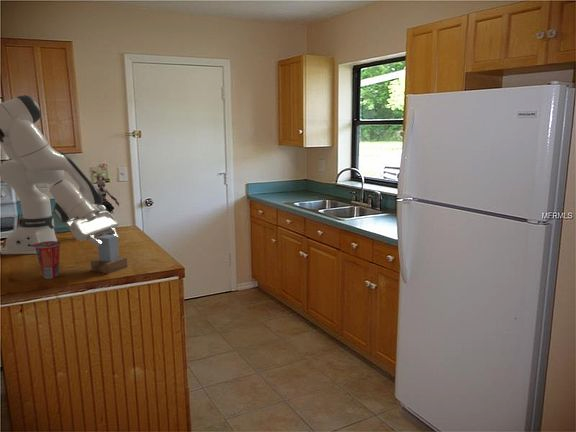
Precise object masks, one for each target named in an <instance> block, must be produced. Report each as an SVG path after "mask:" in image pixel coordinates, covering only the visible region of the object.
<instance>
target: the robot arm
mask: <svg viewBox="0 0 576 432" xmlns="http://www.w3.org/2000/svg"><path fill="white" fill-rule="evenodd" d="M40 109H41V108H40V106H39V104H38V103H37V102H36V101H35V100H34V98H32V97H31V96H29V95H19V96H17V97H16V98H11V99H9V100H6V101H3V102H1V103H0V147H2V150H3V151H4V153H5V155H6V156H7V157H8V158H10V159H9V160H4V161H3V162H2V163H1V164H0V178H1V180H2V181H3V182H4V183H5V184H7V185H8V186H10V188H12V189H13V191H14V192H15V193H16V195H17V197H18V199H19V201H20V207H21V212H22V216H21V217H20V218H19V219H18V221H17V225H18V227H16V229H14V230H13V231H12V232H11V233H10V234H9V235H8V236H7V237H6V241H5V246H3V247H2V248H0V254H1V255H31V254H33V255H35V254H36V255H37V253H36V249H35V247H31V246H30V245H33V244H37V243H41V242H47V241H58V238H57V236H56V232H55V219H54V215H53V214H52V213H54V214H55V215H56V217H57V219H59V220H60V221H61V222H62V223H64V224H66V226H67V227H68V228H69V231H70V232H71V234H72V235H73V236H74V238H75V239H76V240H77V241H78V242H83V241H86V240H88V242H89V243H92V244H94V245H95V246H96V247H97V248H98V247H99V246H101V245H102V242H101V241H100V240H97V238H96V237H99V235H101V234H102V235H105V234H107V233H109V235H117V239H118V240H119V238H120V236H119V235H118V233H117V230H116V228H118V226H119V221H118V220H117V219H116V218H115V216H114V214H113V213H112V212H111V213H110V212H108V211H105V210H106V207H105V206H104V205H102V203H103V195H102V194H101V192H100V191H99V190H98V189H99V188H98V187H96V186H95V185H94V184H93V183H92V182H91V181H90V179H89V178H88V177H87V175H85V173H84V172H83V171H82V170H81V169H80V167H78V165H77V164H76V163H75V162H74V161H73V160H72V159H71V157H69V156H68V154H66V153H64V152H61V151H59V152H58V151H57V150H55V149H54V148H53V147H52V146H51V145H50V143H49V142H48V140H47V139H46V137H45V135H44V134H43V133H42V132H41V131H40V129H39V128H38V126H36V125H35V123H37V122H38V121H39V120H40V119H41V116H42V112H41V110H40ZM65 172H66V174H68V176H69V177H71V179H72V180H73V181H74V183H75V184H77V186H78V187H79V188H78V187H77V186H75V185H74V183H72V182H70V181H69V180H68V179H63V178H64V177H65ZM52 184H53V185H52ZM37 185H40V186H43V185H52V186H51V187H50V188H49V193H50V194H51V196H52V198H53V199H54V201H55V203H54V208H53V212H52V205H51V200H50V197H49V196H48V195H47V194H45V193H43V192H42V191H40V190H39V189H38V188H37ZM102 235H101V236H102Z"/></svg>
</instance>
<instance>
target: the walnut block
mask: <svg viewBox="0 0 576 432" xmlns="http://www.w3.org/2000/svg"><path fill="white" fill-rule="evenodd" d="M90 267H91V268H90V269H91V271H92V272H97V273H103V274H109V275H110V274H112V273H115V272H117V271H120V270H123V269H126V268H128V258H127V257H126V256H125V257H123V256H119V258H118V259H116V260H114V261H112V262H105V261H99V258H96V259H92V260H91V261H90Z"/></svg>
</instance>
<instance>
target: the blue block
mask: <svg viewBox="0 0 576 432" xmlns="http://www.w3.org/2000/svg"><path fill="white" fill-rule="evenodd" d="M117 235H118V234H117ZM117 235H112V234H110V233H109V234H107V233H104V234H102V235H101V236H96V237H97V238H96V239H97V240H100V241H101V242H102V245H101V246H99V247H97V249H98V250H97V253H98V259H99V261H105V262H112V261H114V260H116V259H118V258H119V257H120V254H119V253H120V252H119V241H118V240H119V238H118V239H117Z"/></svg>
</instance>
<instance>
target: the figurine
mask: <svg viewBox="0 0 576 432" xmlns="http://www.w3.org/2000/svg"><path fill="white" fill-rule="evenodd" d="M96 180H97V181H96V186H97V189H98V190H99V191H100V192H101V194H102V195H103V203H102V205H104V206H105V207H106V210H105V211H108V212H110V213H111V214H114V211H113V210H114V209H115V206H114V205H113V203H111V202H110V201H109V200H108V199H107V198H106V197H107V196H109V197H110V199H112V200H113V201H114V202H115V204H116V205H117V206H118V207H120V203H119V201H118V199H117V198H116V197H115V196H114V195H112V194H111V193H110V191H108V189H107V188H106V181H107V176H105V175H103V176H101V178H100V175H99V173H96ZM105 180H106V181H105ZM100 236H103V234H101V235H98V237H100Z"/></svg>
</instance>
